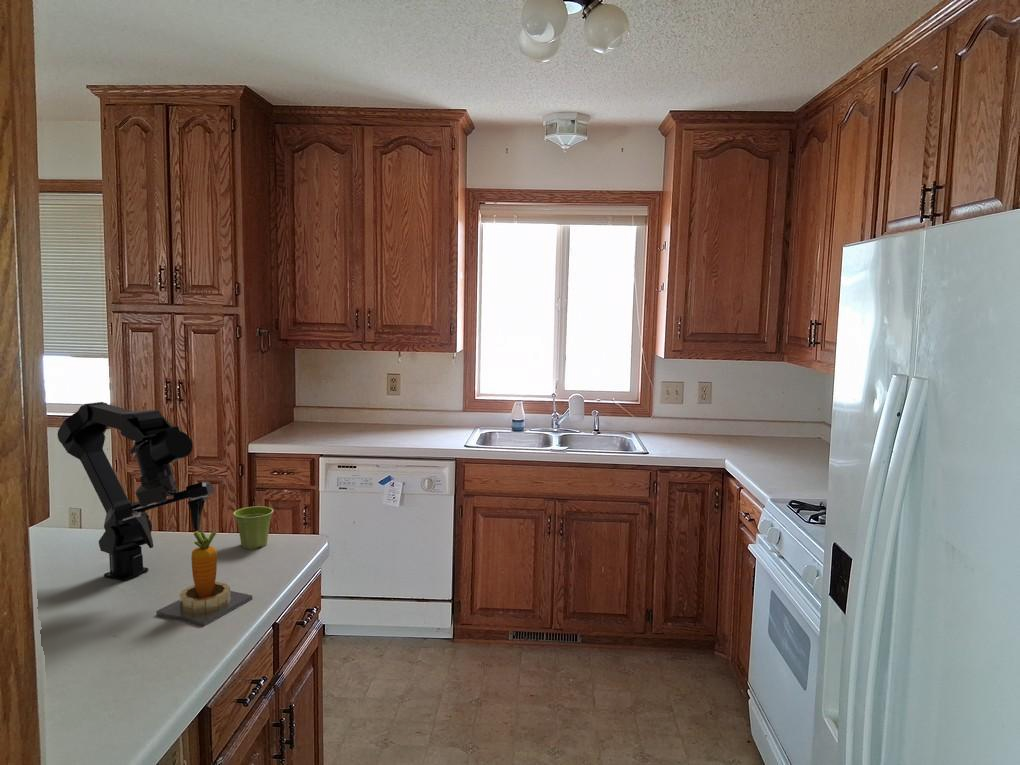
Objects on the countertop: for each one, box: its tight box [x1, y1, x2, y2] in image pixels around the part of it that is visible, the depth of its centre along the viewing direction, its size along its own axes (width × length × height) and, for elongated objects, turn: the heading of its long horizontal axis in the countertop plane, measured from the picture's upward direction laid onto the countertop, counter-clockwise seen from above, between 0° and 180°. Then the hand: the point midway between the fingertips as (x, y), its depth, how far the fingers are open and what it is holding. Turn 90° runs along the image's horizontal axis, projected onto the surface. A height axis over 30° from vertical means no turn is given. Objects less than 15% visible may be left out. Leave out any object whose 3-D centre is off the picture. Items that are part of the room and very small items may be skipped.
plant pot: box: [233, 506, 274, 549], centre depth 174 cm, size 9×9×9 cm
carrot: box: [190, 531, 218, 598], centre depth 139 cm, size 5×5×15 cm
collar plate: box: [155, 581, 253, 627], centre depth 139 cm, size 12×13×3 cm
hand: (174, 540), depth 145 cm, fingers open, 9 cm apart
